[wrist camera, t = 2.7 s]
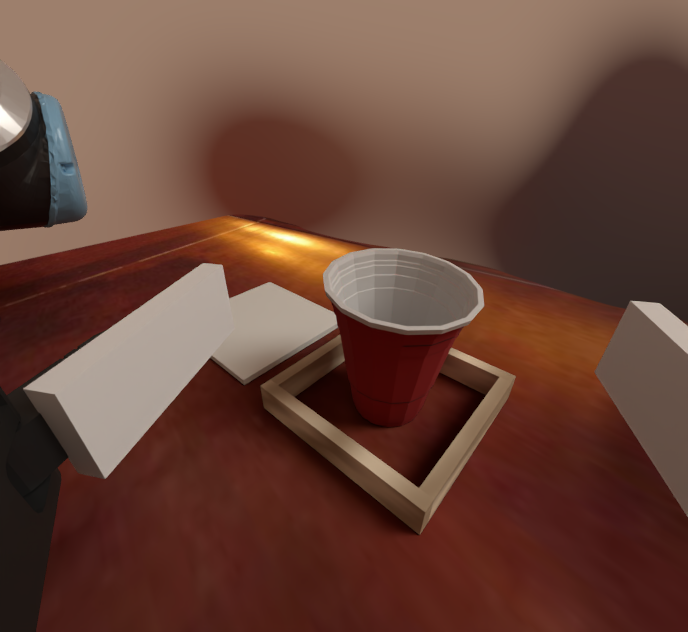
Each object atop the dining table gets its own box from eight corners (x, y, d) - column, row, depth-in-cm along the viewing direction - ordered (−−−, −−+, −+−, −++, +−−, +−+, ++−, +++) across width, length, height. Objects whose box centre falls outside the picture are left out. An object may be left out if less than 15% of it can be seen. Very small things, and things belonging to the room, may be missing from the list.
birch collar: (263, 407, 29) (260, 385, 27) (372, 332, 38) (373, 313, 37) (419, 535, 20) (425, 512, 19) (508, 397, 30) (516, 376, 29)
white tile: (171, 327, 39) (170, 322, 38) (270, 285, 48) (269, 281, 47) (244, 385, 31) (243, 380, 31) (345, 322, 40) (345, 318, 40)
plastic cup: (391, 487, 23) (412, 344, 16) (300, 396, 30) (290, 271, 23) (479, 408, 29) (519, 281, 22) (386, 348, 36) (397, 237, 29)
